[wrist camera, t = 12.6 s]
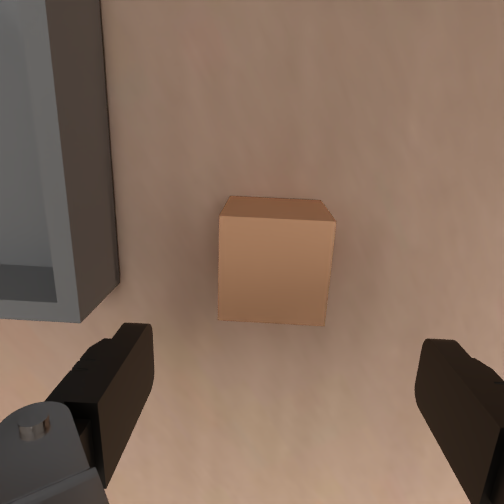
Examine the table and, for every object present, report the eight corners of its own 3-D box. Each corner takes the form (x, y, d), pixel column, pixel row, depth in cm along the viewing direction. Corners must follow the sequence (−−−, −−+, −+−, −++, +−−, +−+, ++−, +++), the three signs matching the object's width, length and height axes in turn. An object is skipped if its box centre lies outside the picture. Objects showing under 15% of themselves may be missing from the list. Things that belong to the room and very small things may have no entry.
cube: (230, 195, 21) (219, 216, 16) (320, 200, 21) (336, 221, 16) (228, 279, 23) (217, 320, 18) (312, 284, 23) (324, 326, 18)
